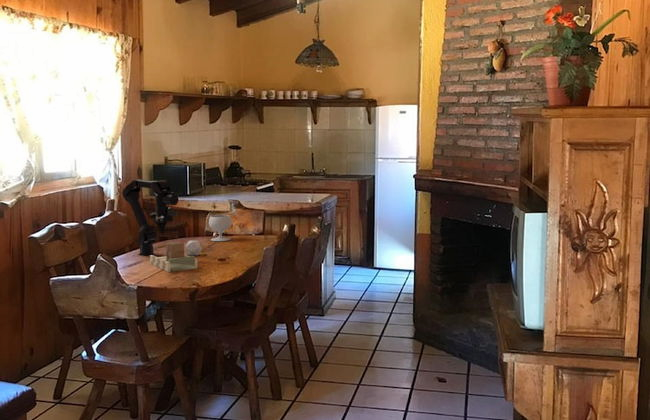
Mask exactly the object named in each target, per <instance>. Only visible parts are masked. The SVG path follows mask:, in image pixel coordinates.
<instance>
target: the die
mask: <svg viewBox="0 0 650 420" xmlns="http://www.w3.org/2000/svg"><path fill="white" fill-rule="evenodd" d="M201 246H202V245H201V243H200V241H199V240H188V241H187V243H186V245H185V246H184V250H185V251H186V254H187V255H188V256H195V257H197V256H199V254H200V253H201V251H202V249H203V248H202V247H201Z"/></svg>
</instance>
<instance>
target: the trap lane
mask: <svg viewBox="0 0 650 420" xmlns="http://www.w3.org/2000/svg"><path fill="white" fill-rule="evenodd" d="M149 265H151V266H154V267H156V268H158V269H160V270H162V269H163V270H162V271H164V270H165V271H164V272H166V271H167V272H166V273H170V272H171V271H173V272H178V271H180V272H181V271H187V270H194V269H198V258H196V256H188V254H186V253H184V257H182V258H173V259H169V262H168V261H166V255H165V256H155V255H154V254H151V255H149ZM171 273H172V272H171Z"/></svg>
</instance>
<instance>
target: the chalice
mask: <svg viewBox="0 0 650 420" xmlns="http://www.w3.org/2000/svg"><path fill="white" fill-rule="evenodd" d="M232 224H233V221H232V218H231V215H229V214H214V215H213V214H212V215H210V217H209V219H208V226H209V227H210V229H213V230H215V231H216V232H217V233H218V236H217V237H213V238H211V239H210V241H212V242H226V241H231V238H230V237H225V236H223V233H224V231H226V230H228V229H229V228H231V226H232Z"/></svg>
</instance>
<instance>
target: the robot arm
mask: <svg viewBox="0 0 650 420" xmlns="http://www.w3.org/2000/svg"><path fill="white" fill-rule="evenodd" d="M142 188H144V189H151V190H152V191H153V193H152V196H155V205H154V208H155V212H151V213H150V214H149V215H150V216H149V218H150V219H152V220H153V219H154V221H153V222H155V224H156V226H157V229H159V232H160V233H161V234H164V233H165V230H166V229H165V228H166V227H167V226H166V225H167V223H169V222H174V221H175V220H174V219H175V218H176V217H177V216H178V213H179V211H178V210H174V209H173V207H169V206H177V204H178V203H179V197H178V195H177V194H176V192H175V191H172V190H173V189H172V188H171V186H170V185H169V183H168V181H167V180H166V179H165V180H164V179H163V180H148V179H147V180H145V179H141V178H138V179H137V178H136V179H133V180H132V181H131V182H130V183H129V184H127V185H126V186H125V187H124V189H123V190H122V192H121V193H122V196H123V198H124V200H125V201H126V202H127V203H128V204H129V205H130V207H131V209H132V212H133V215H134V217H135V219H136V222H137V224H138V227H139V229H138V230H139V231H138V235H139V236H138V238H137V239H136V244H137V245H139V253H138V255H139V256H150V255H155V253H156V252H154V245H153V243H156V239H157V230H156V229H155V226H154V225H150V224H149V222H148V220H147V217H146V214H145V212H144V210H143V207H142V205H141V203H140V196H141V195H140V192H141V191H142Z"/></svg>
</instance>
